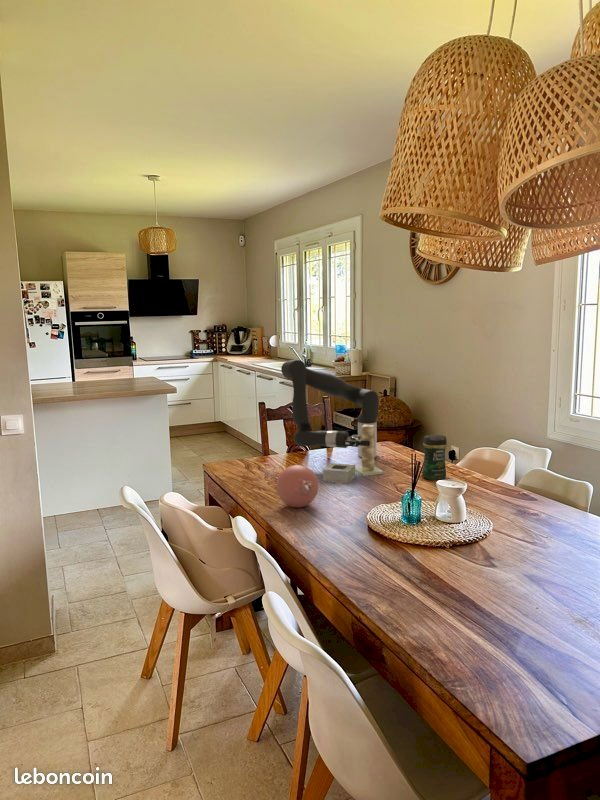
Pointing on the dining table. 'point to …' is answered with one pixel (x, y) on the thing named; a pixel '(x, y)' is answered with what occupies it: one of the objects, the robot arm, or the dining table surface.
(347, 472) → the block
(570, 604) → the dining table surface
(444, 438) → the coffee jar
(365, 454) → the beech peg
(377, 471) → the sage mat
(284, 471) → the pink rubber ball
